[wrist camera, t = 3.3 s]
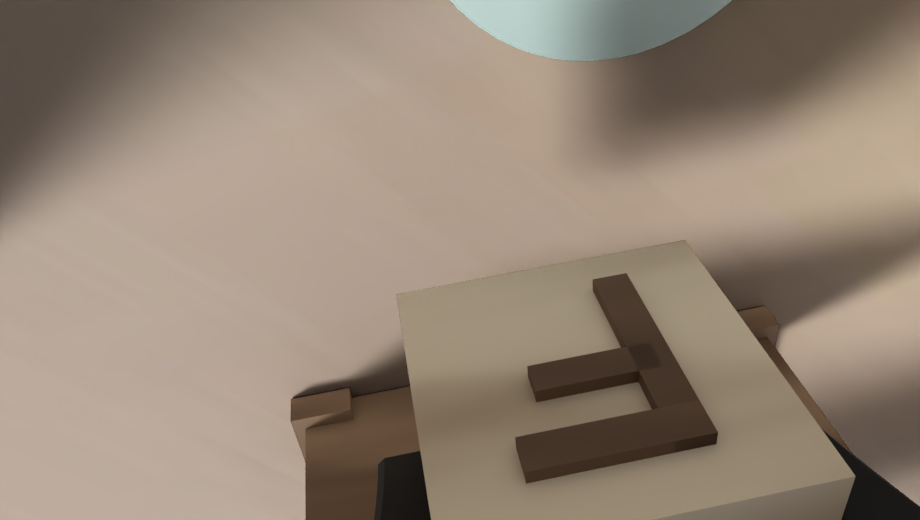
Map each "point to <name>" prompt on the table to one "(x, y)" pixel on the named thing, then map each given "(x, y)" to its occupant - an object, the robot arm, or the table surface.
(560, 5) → the coaster
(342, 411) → the brown wooden block
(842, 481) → the letter cube
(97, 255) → the table surface
